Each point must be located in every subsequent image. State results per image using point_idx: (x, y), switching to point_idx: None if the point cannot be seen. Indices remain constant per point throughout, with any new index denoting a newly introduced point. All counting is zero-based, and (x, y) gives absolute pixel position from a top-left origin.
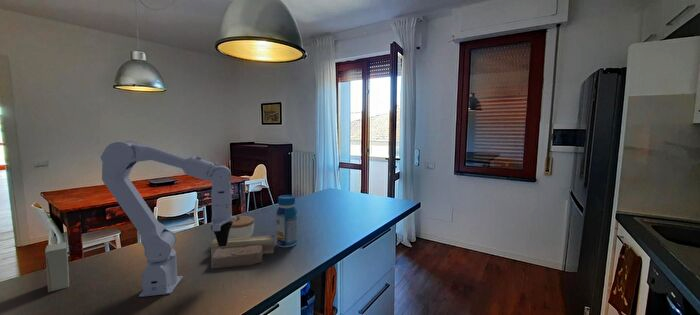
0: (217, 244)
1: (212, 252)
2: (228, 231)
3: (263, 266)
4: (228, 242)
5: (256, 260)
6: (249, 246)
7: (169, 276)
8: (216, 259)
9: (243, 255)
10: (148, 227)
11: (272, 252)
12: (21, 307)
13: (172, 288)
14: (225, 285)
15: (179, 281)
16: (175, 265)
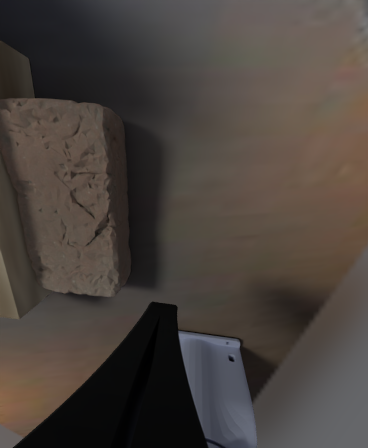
0: (20, 295)
1: (49, 290)
2: (157, 431)
3: (151, 108)
4: (5, 262)
5: (120, 136)
6: (23, 167)
7: (225, 378)
8: (120, 279)
9: (110, 190)
10: None
11: (27, 62)
12: None
13: (224, 341)
14: (247, 232)
15: (189, 332)
16: (197, 391)
